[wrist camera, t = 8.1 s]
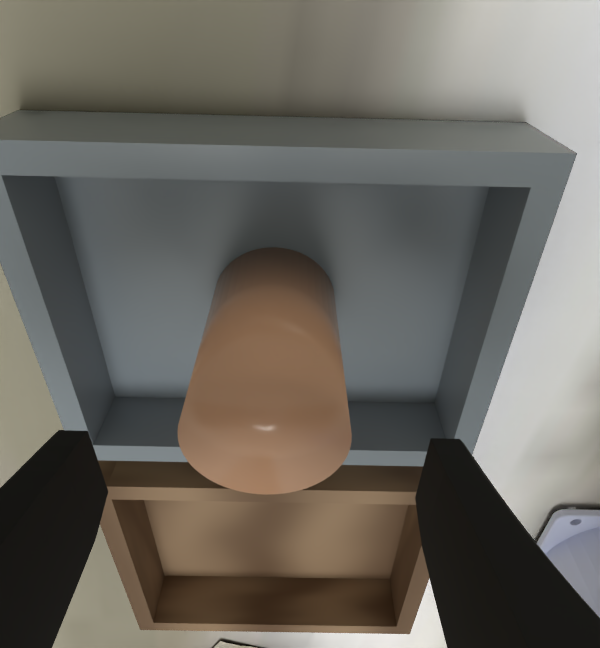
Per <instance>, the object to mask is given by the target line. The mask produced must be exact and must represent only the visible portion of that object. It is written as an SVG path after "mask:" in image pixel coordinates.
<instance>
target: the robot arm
mask: <svg viewBox="0 0 600 648" xmlns="http://www.w3.org/2000/svg"><path fill="white" fill-rule="evenodd" d="M107 495H108V489H107V486H106V483H105V480H104V477H103V474H102V471H101V468H100V465H99V462H98V459H97V456H96V453H95V450H94V447H93V444H92V441H91V439H90V436H89V433H88V431H72V430H59V431H58V432H56V433H55V434H54V435H53V436H52V437H51V438H50V439H49V440H48V441H47V442H46V443H45V444H44V445H43V446H42V447H41V448H40V449H39V450H38V451H37V452H36V453H35V454H34V455H33V456H32V457H31V458H30V459H29V460H28V461H27V462H26V463H25V464H24V465H23V466H22V467H21V468H20V469H19V470H18V471H17V472H16V473H15V474H14V475H13V476H12V477H11V478H10V479H9V480H8V481H7V482H6V483H5V484H4V485H3V486H2V487H1V488H0V648H52V646H53V643H54V641H55V638H56V636H57V634H58V631H59V629H60V626H61V624H62V621H63V619H64V616H65V614H66V611H67V609H68V606H69V604H70V602H71V599H72V597H73V594H74V592H75V589H76V587H77V584H78V582H79V579H80V577H81V574H82V572H83V569H84V567H85V564H86V562H87V559H88V557H89V554H90V552H91V549H92V547H93V544H94V541H95V539H96V535H97V532H98V528H99V525H100V521H101V518H102V514H103V510H104V506H105V502H106V498H107ZM415 501H416V509H417V516H418V524H419V531H420V537H421V544H422V549H423V553H424V557H425V561H426V565H427V569H428V573H429V577H430V581H431V585H432V589H433V593H434V597H435V601H436V605H437V609H438V613H439V617H440V621H441V625H442V628H443V632H444V636H445V640H446V644H447V648H600V510H581V509H562V510H558V511H556V512H555V513H554V514H553V515H552V517H551V518H550V520H549V522H548V524H547V526H546V527H545V529H544V531H543V533H542V535H541V536H540V538H539V540H538V542H537V543H536V542H535V541H534V539H533V538H532V537H531V536H530V534H529V533H528V532H527V530H526V529H525V528H524V527H523V525H522V524H521V523H520V521H519V520H518V519H517V517H516V516H515V515H514V514H513V512H512V511H511V509H510V508H509V507H508V505H507V504H506V503H505V501H504V500H503V499H502V497H501V496H500V494H499V493H498V492H497V490H496V489H495V488H494V486H493V485H492V483H491V482H490V481H489V479H488V478H487V476H486V475H485V473H484V472H483V471H482V469H481V468H480V466H479V465H478V463H477V462H476V460H475V459H474V457H473V456H472V455H471V453H470V452H469V450H468V449H467V447H466V446H465V444H464V443H463V442H462V441H461V440H460V439H445V438H431V439H430V443H429V447H428V450H427V454H426V458H425V462H424V466H423V469H422V473H421V477H420V481H419V485H418V489H417V492H416V496H415Z"/></svg>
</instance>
